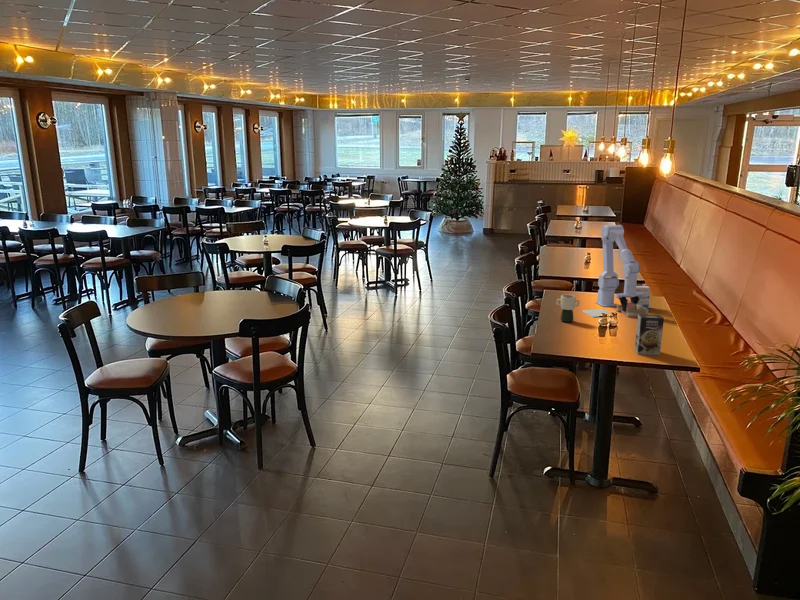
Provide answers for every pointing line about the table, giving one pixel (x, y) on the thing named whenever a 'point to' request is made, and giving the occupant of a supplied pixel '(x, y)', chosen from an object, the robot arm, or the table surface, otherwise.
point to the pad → (595, 312)
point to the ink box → (645, 299)
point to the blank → (629, 307)
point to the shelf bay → (634, 311)
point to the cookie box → (649, 334)
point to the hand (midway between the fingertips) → (628, 310)
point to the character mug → (567, 307)
